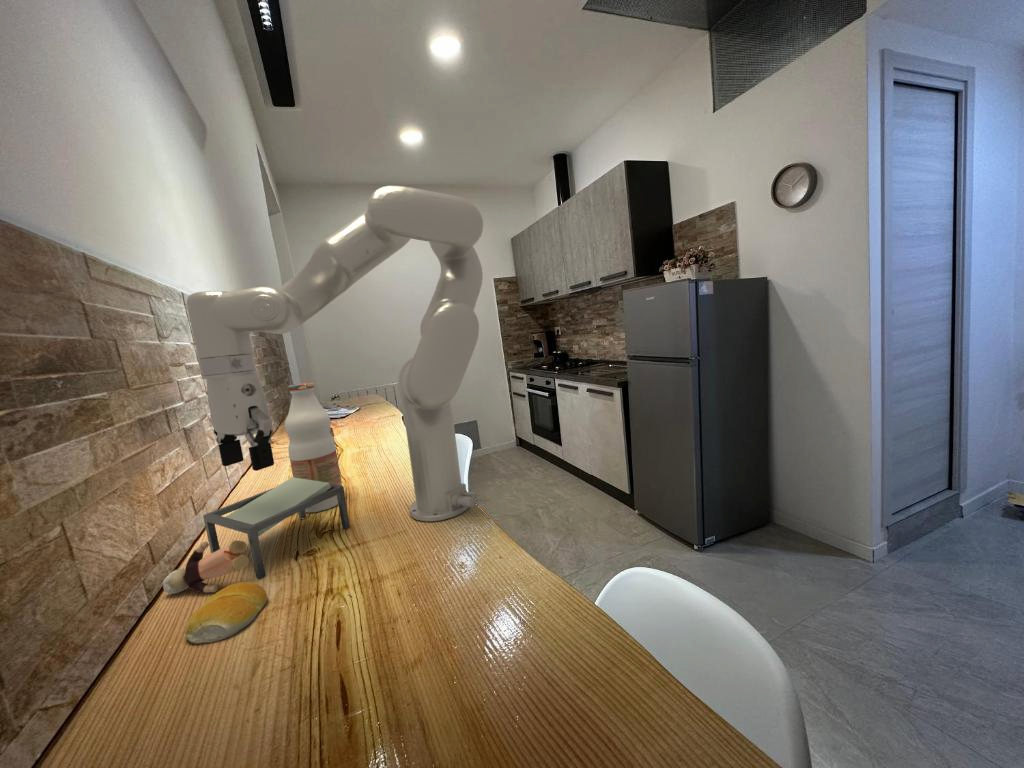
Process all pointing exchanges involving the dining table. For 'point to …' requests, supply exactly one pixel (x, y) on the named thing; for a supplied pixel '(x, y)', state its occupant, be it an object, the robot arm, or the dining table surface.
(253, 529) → the miniature green-top table
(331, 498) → the fruit juice
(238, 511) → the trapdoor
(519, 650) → the dining table surface
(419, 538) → the dining table surface
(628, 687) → the dining table surface
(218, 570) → the grandmother figurine
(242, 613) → the bread roll
